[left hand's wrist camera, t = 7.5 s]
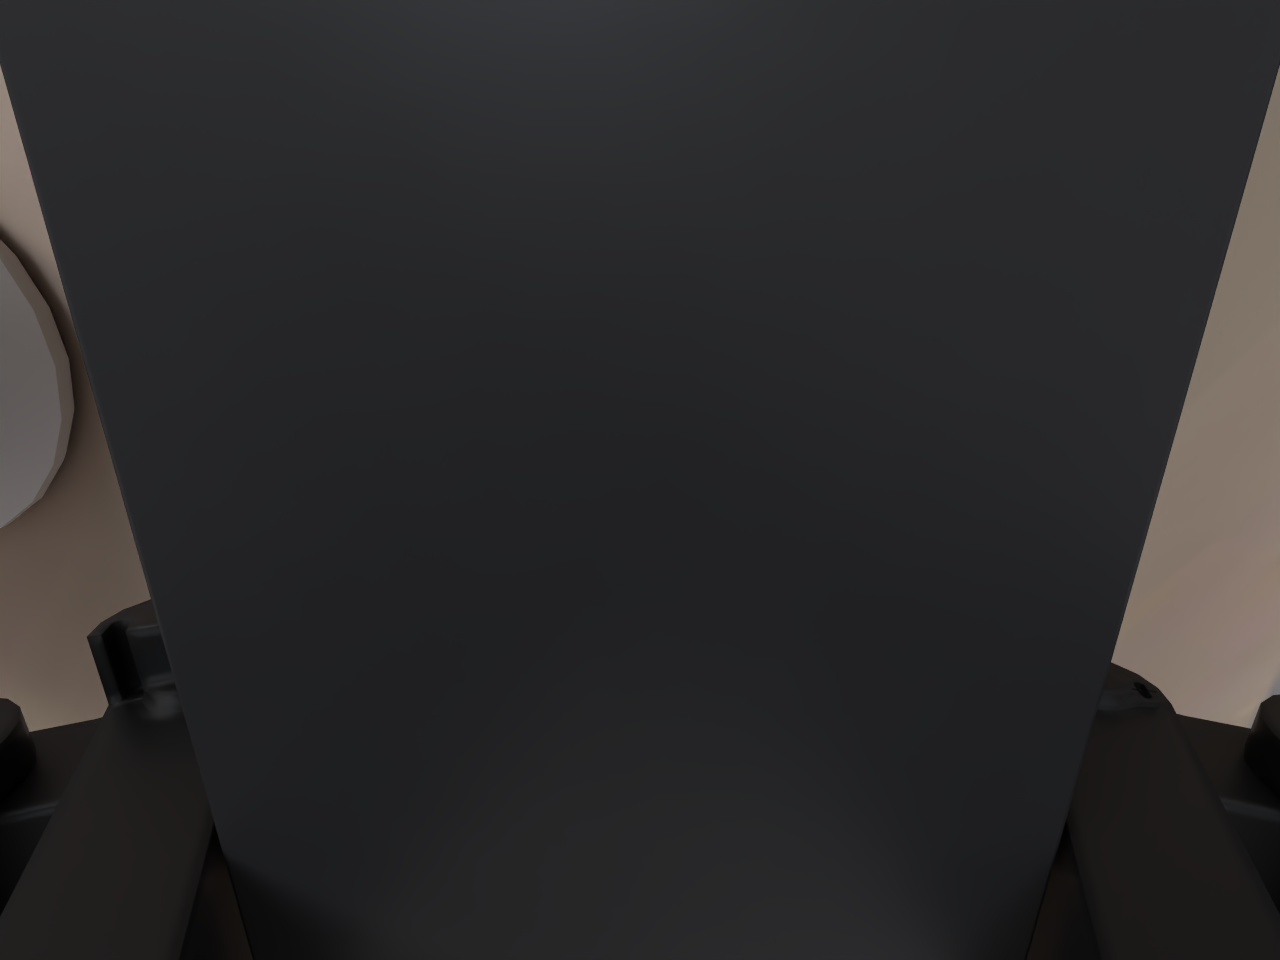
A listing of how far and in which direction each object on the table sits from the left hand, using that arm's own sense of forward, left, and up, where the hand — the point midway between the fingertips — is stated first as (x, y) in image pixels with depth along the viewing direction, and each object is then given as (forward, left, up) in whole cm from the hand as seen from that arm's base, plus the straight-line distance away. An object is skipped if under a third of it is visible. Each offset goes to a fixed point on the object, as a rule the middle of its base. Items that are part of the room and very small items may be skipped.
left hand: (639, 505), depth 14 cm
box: (+8, +5, -1) cm, 9 cm away
